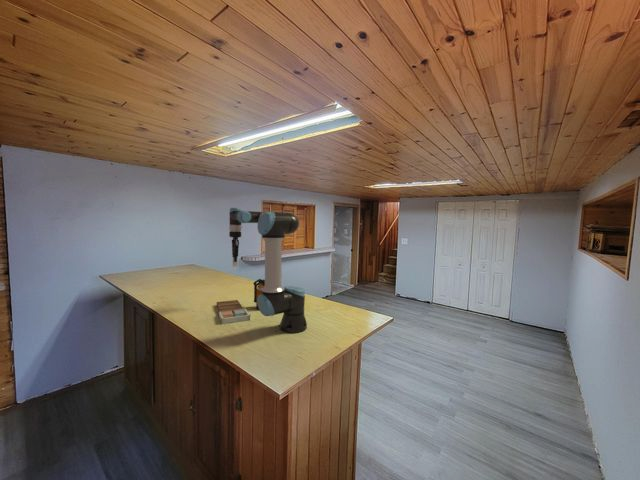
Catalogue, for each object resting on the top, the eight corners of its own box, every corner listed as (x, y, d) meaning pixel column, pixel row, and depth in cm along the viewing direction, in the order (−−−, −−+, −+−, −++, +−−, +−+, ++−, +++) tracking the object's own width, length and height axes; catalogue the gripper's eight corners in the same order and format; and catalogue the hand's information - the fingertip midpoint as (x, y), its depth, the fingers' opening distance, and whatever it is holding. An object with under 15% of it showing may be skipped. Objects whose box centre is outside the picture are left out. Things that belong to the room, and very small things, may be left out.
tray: (250, 320, 160) (250, 315, 160) (221, 324, 153) (221, 319, 153) (245, 313, 172) (245, 308, 172) (218, 316, 164) (219, 311, 164)
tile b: (245, 316, 165) (245, 312, 165) (235, 317, 162) (235, 313, 162) (243, 313, 170) (243, 309, 170) (233, 314, 167) (233, 310, 167)
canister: (268, 310, 178) (268, 281, 177) (251, 309, 178) (251, 280, 177) (270, 306, 187) (271, 278, 185) (255, 305, 187) (255, 277, 186)
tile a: (233, 318, 162) (233, 314, 161) (222, 319, 159) (222, 315, 159) (231, 314, 167) (231, 310, 167) (221, 316, 164) (221, 312, 164)
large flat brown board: (243, 313, 171) (243, 309, 171) (220, 316, 165) (220, 312, 165) (237, 303, 191) (237, 299, 191) (216, 305, 184) (216, 302, 184)
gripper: (243, 231, 173) (242, 267, 175) (239, 230, 185) (238, 264, 186) (231, 231, 170) (230, 268, 171) (227, 230, 181) (227, 265, 183)
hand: (235, 266), depth 179 cm, fingers closed
